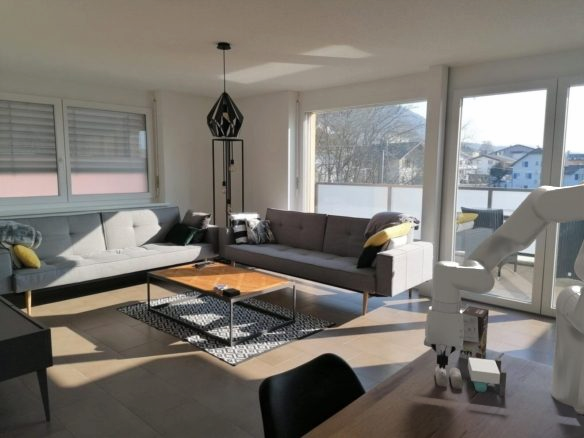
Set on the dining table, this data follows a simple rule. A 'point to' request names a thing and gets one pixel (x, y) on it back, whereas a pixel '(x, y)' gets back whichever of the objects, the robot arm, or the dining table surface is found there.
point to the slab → (483, 370)
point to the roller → (480, 386)
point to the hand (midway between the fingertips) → (441, 366)
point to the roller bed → (457, 379)
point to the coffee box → (474, 332)
